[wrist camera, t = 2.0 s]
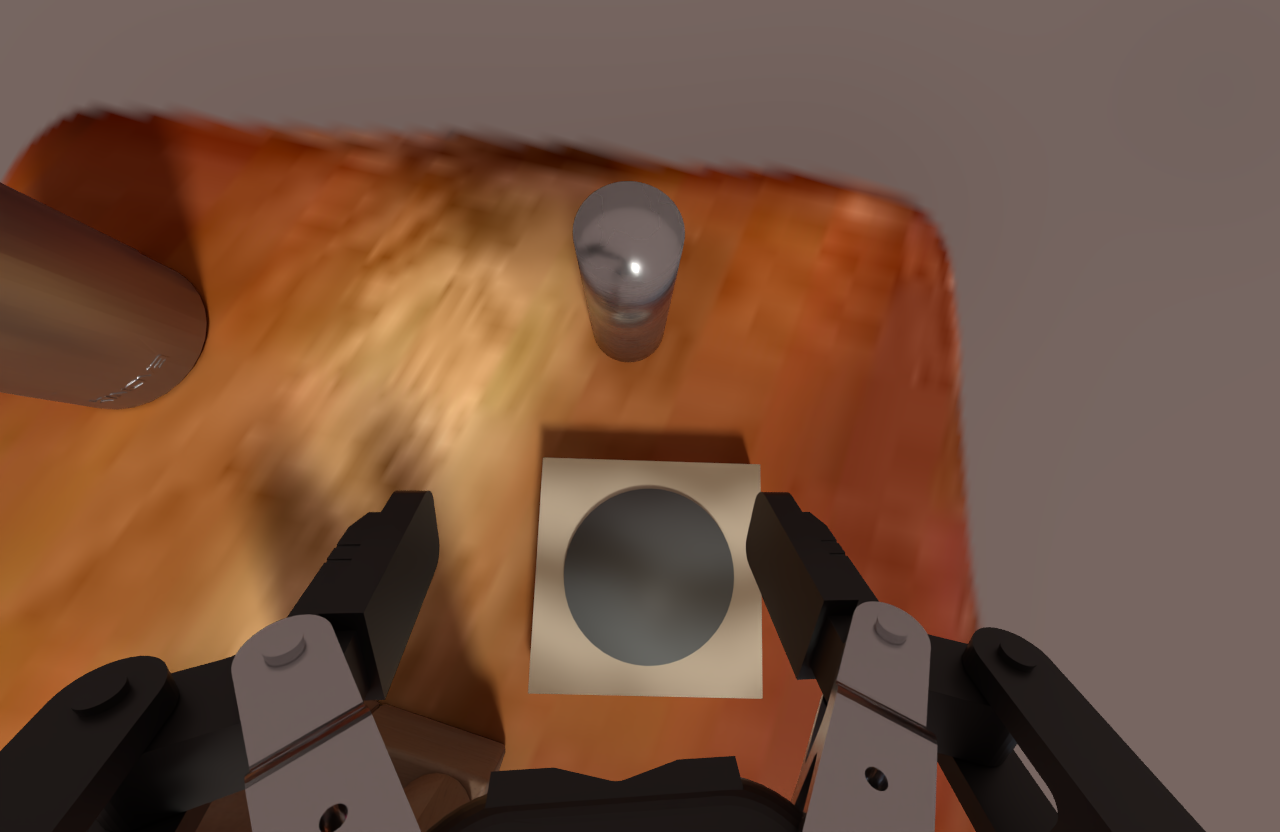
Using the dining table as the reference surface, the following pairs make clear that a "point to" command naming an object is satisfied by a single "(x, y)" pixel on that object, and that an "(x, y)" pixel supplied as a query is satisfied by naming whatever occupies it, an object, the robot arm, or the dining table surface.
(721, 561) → the rest block
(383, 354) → the dining table surface
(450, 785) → the wooden block
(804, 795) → the robot arm
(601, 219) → the axle
